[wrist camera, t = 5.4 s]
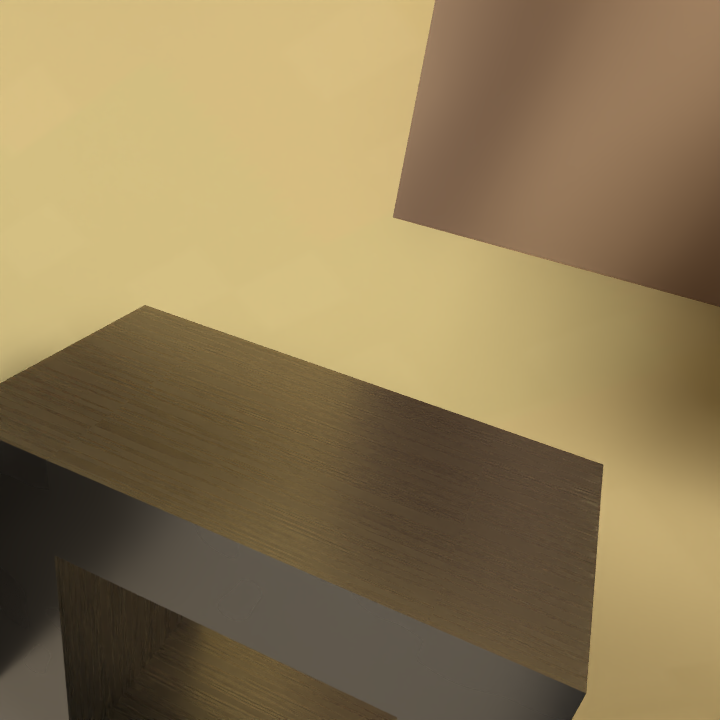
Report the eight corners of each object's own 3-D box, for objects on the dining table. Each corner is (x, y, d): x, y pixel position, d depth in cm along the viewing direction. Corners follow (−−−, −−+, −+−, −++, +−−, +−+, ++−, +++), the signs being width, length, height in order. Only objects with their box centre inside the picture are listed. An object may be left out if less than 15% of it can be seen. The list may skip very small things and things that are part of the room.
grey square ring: (142, 608, 12) (6, 768, 9) (144, 305, 9) (-58, 414, 6) (468, 764, 10) (413, 1003, 8) (602, 464, 7) (585, 693, 5)
